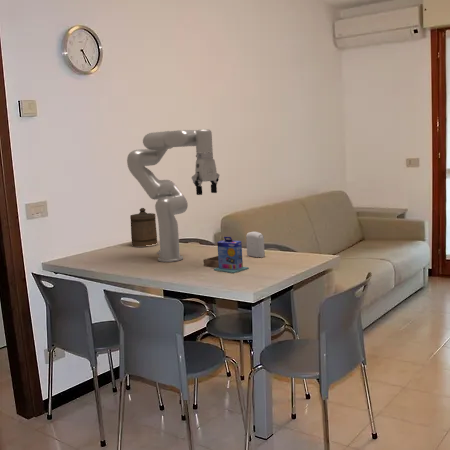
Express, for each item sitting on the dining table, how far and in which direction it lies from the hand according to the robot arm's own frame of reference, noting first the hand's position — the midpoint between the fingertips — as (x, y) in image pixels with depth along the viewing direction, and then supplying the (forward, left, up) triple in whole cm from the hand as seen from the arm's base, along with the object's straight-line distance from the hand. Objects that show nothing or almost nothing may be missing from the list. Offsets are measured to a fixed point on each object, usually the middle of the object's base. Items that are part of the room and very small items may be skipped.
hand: (206, 193), depth 258 cm
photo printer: (+7, +25, -34) cm, 42 cm away
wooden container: (-74, +21, -34) cm, 84 cm away
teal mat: (+17, -4, -33) cm, 37 cm away
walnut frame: (+5, +3, -33) cm, 34 cm away
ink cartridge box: (+16, -4, -33) cm, 37 cm away
